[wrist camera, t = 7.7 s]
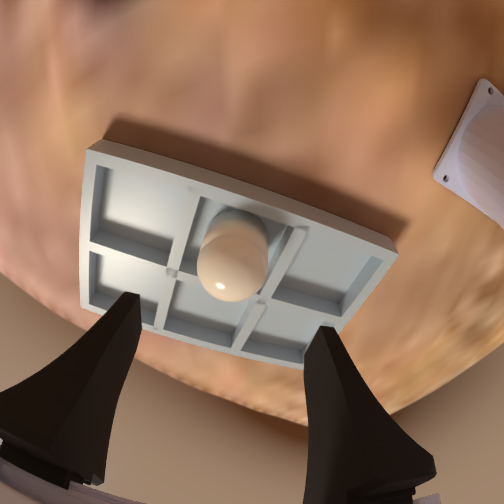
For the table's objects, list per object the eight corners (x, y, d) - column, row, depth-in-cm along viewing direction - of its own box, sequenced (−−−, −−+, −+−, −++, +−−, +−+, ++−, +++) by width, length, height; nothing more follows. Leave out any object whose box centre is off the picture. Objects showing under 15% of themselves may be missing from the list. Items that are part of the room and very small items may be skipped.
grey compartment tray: (389, 237, 20) (399, 254, 19) (304, 352, 28) (306, 370, 26) (101, 138, 17) (86, 148, 15) (89, 291, 24) (80, 307, 23)
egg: (273, 214, 19) (274, 265, 15) (262, 266, 22) (261, 321, 17) (207, 205, 19) (191, 254, 15) (204, 257, 21) (190, 311, 17)
